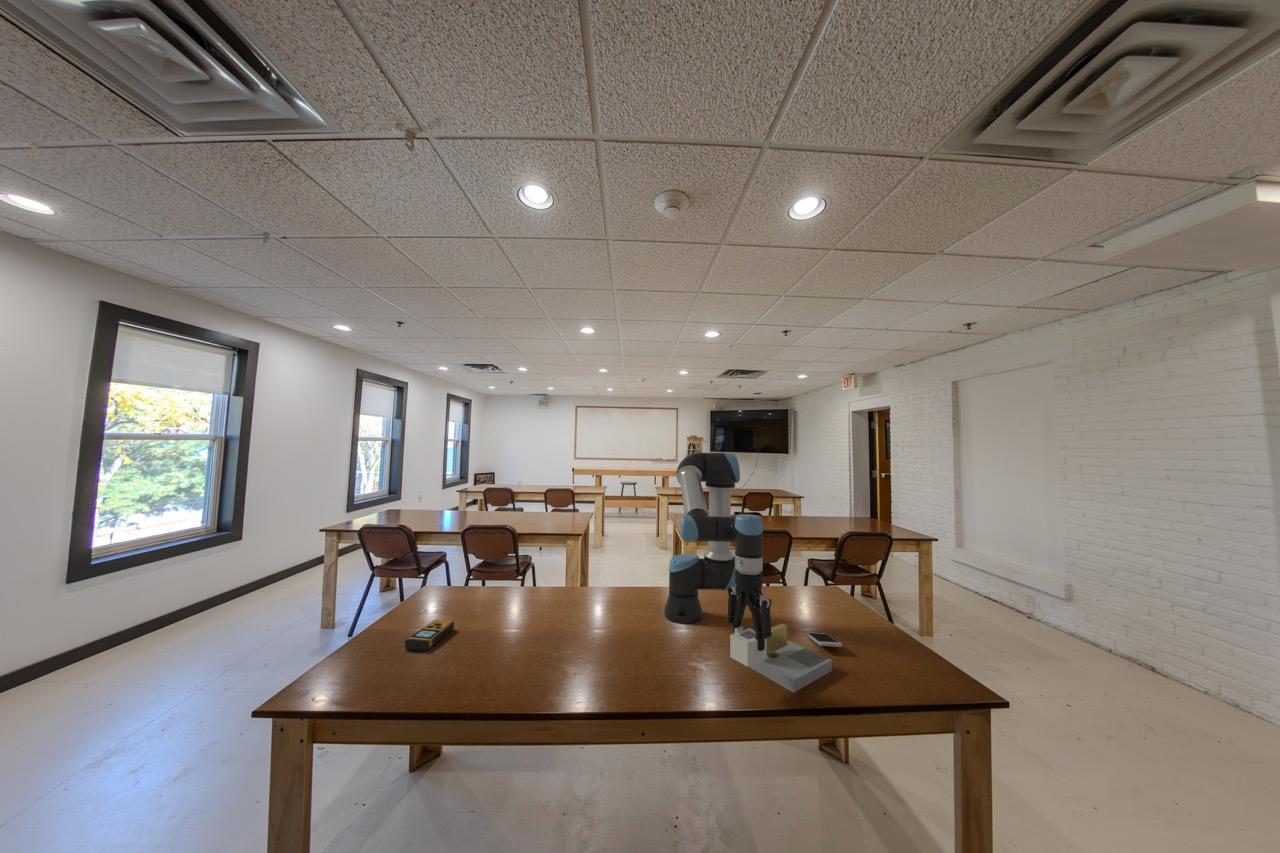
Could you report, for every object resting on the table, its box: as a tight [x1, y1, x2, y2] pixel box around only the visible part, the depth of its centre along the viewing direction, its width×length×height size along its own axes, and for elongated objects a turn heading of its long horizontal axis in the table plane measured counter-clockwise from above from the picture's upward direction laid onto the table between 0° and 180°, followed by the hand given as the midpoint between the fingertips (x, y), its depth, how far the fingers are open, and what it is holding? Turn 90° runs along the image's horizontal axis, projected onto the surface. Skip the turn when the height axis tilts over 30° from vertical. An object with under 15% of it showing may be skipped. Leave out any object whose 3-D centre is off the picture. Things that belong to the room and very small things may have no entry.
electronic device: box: [404, 619, 455, 652], centre depth 134 cm, size 8×16×3 cm, turn 175°
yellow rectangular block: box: [766, 623, 788, 655], centre depth 122 cm, size 13×2×7 cm, turn 125°
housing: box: [747, 639, 833, 693], centre depth 120 cm, size 16×20×4 cm
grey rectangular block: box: [729, 627, 767, 668], centre depth 110 cm, size 6×8×6 cm
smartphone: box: [805, 631, 843, 648], centre depth 137 cm, size 7×15×1 cm, turn 175°
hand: (748, 656), depth 110 cm, fingers closed on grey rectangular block, 6 cm apart
